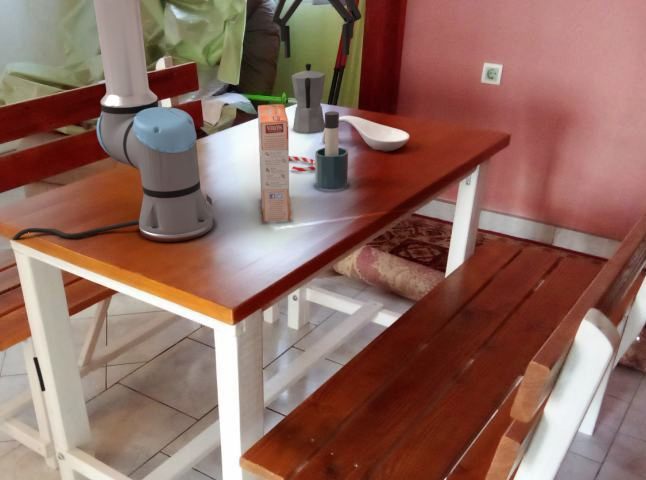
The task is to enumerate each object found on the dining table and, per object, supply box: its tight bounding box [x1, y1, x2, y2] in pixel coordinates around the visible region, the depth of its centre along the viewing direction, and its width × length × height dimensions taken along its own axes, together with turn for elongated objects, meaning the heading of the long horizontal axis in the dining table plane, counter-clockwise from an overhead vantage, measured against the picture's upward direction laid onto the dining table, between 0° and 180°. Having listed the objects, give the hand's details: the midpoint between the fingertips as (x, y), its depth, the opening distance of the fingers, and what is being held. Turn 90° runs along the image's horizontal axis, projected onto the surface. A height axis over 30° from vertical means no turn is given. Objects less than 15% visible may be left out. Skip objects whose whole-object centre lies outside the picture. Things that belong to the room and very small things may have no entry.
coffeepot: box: [291, 63, 326, 134], centre depth 201 cm, size 15×9×18 cm, turn 175°
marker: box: [324, 110, 340, 156], centre depth 161 cm, size 3×3×16 cm
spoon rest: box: [321, 115, 410, 153], centre depth 188 cm, size 24×12×7 cm, turn 59°
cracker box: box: [257, 103, 291, 223], centre depth 149 cm, size 14×6×21 cm, turn 1°
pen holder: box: [314, 146, 349, 190], centre depth 163 cm, size 7×7×8 cm
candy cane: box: [289, 155, 315, 172], centre depth 179 cm, size 8×1×15 cm
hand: (316, 56), depth 162 cm, fingers open, 13 cm apart
